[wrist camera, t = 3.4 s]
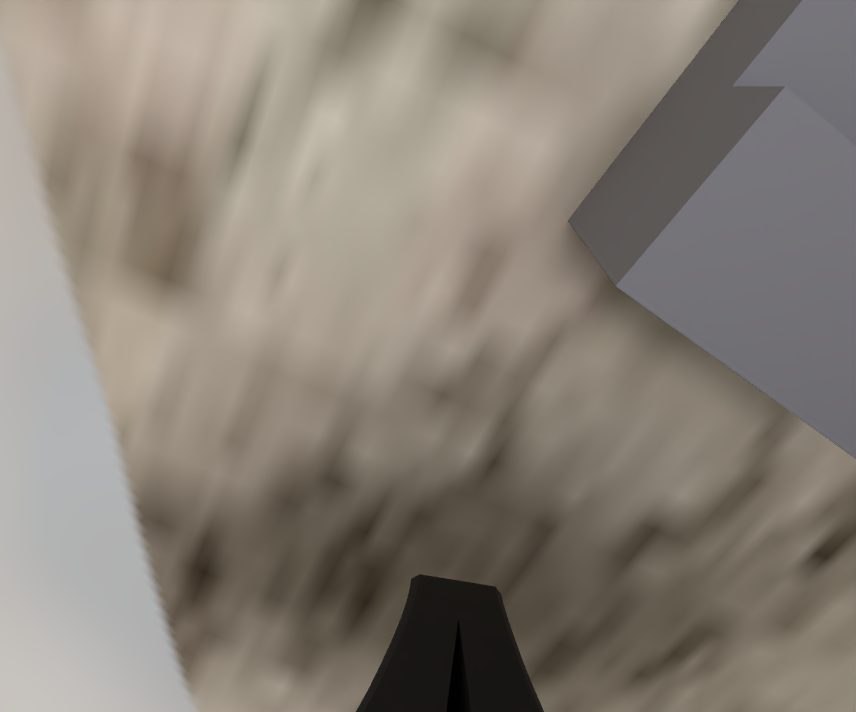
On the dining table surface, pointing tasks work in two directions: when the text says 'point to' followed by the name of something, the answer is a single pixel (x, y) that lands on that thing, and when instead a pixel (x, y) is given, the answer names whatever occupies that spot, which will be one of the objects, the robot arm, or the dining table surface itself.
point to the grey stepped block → (750, 207)
